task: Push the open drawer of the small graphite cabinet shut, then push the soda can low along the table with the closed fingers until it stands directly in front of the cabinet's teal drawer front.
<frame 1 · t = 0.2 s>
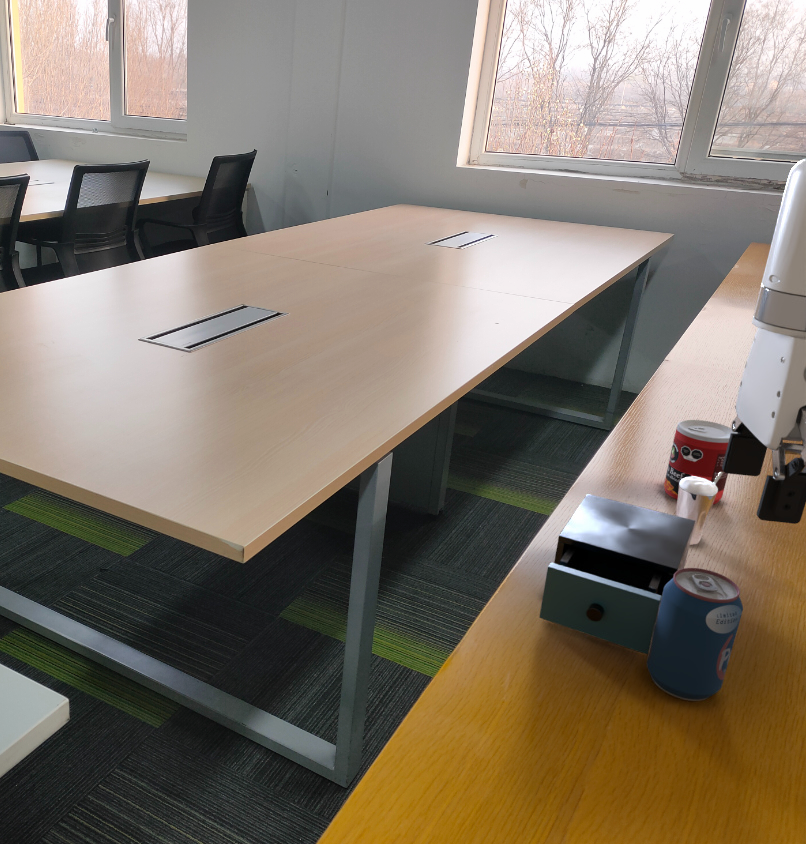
hand: (757, 495, 73), 22 cm above the table, tool pointing down, fingers open, 9 cm apart
canned food: (691, 496, 123), on the table
drawer: (608, 586, 92), point 4 cm above the table, slide at 5.0 cm
soda can: (680, 684, 83), on the table
milkshake: (688, 540, 111), on the table
cabinet: (615, 589, 99), on the table
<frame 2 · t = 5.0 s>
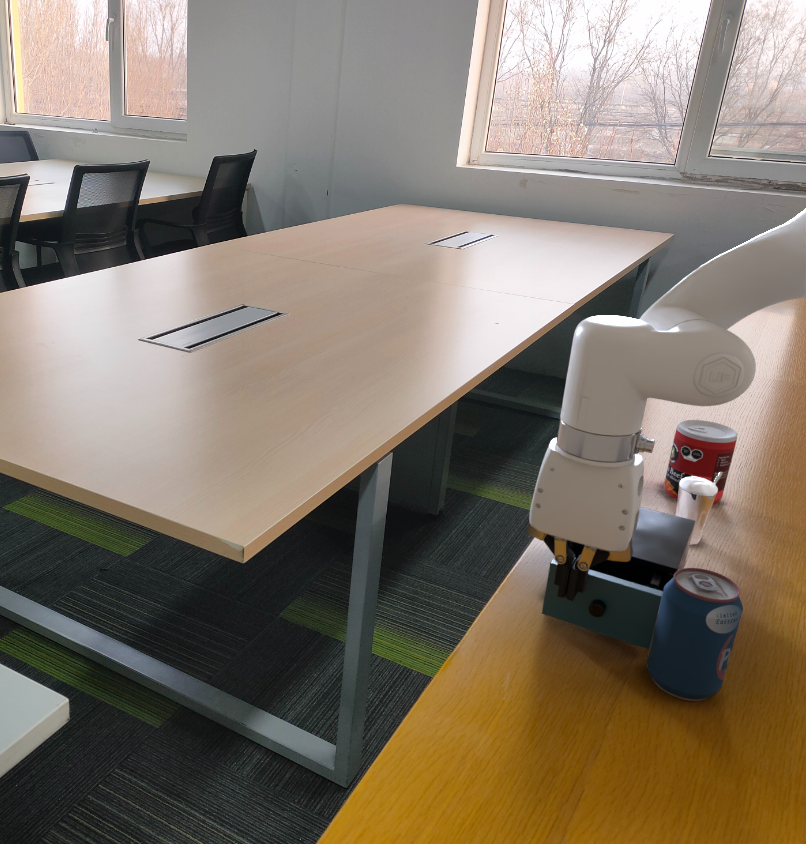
hand: (568, 593, 88), 6 cm above the table, tool pointing down, fingers closed
drawer: (610, 582, 92), point 4 cm above the table, slide at 4.0 cm, touching gripper
everything else where it was.
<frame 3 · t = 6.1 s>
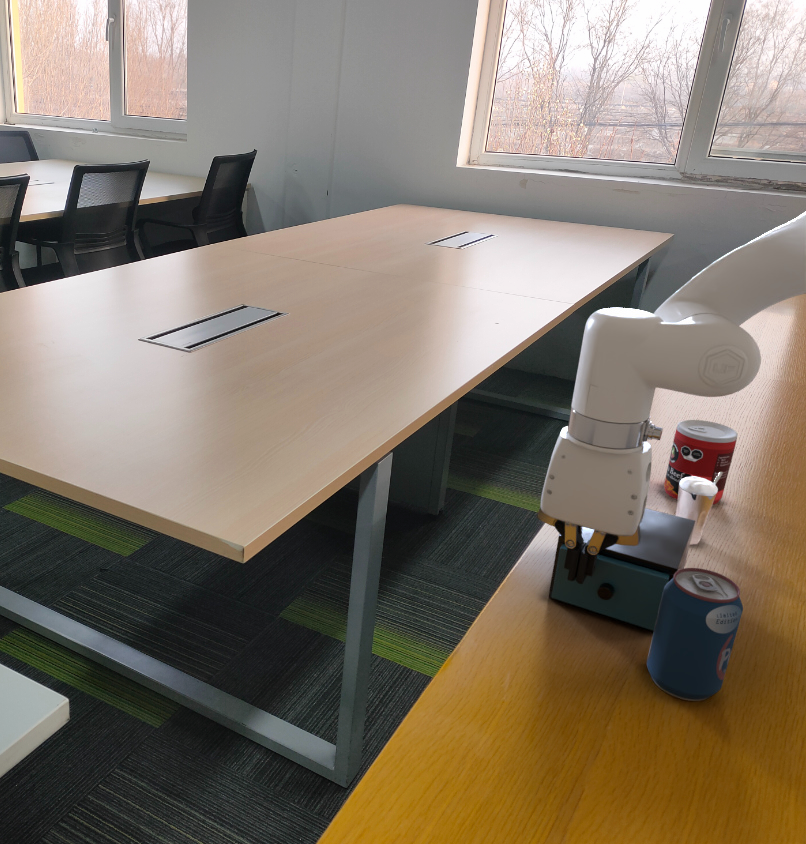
hand: (577, 576, 91), 6 cm above the table, tool pointing down, fingers closed
drawer: (617, 567, 95), point 4 cm above the table, slide at 0.0 cm, touching cabinet, gripper
everything else where it was.
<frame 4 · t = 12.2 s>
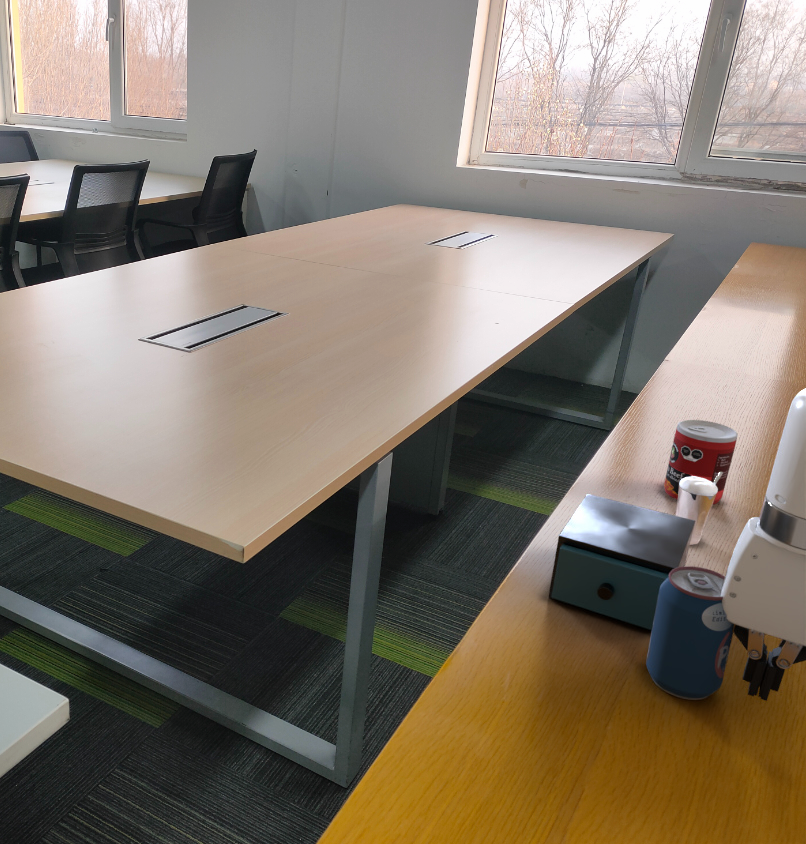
hand: (758, 689, 78), 2 cm above the table, tool pointing down, fingers closed
drawer: (617, 567, 95), point 4 cm above the table, slide at 0.0 cm, touching cabinet
soda can: (680, 683, 83), on the table, touching gripper
everything else where it was.
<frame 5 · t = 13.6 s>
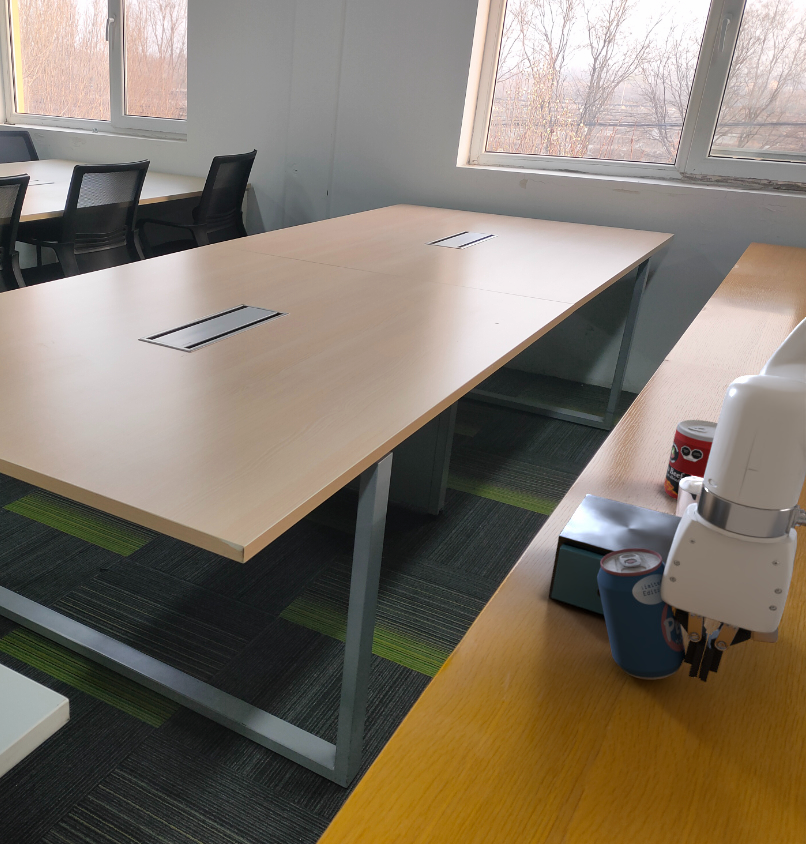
hand: (698, 671, 80), 3 cm above the table, tool pointing down, fingers closed
soda can: (650, 666, 84), point 1 cm above the table, touching gripper
everything else where it was.
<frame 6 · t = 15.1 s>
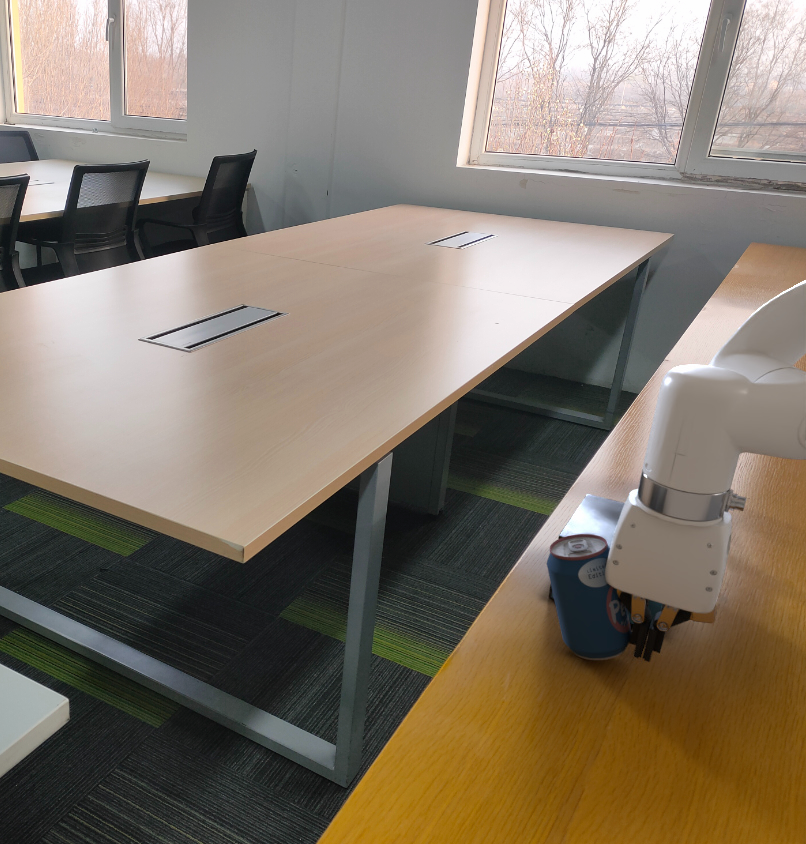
hand: (643, 652, 83), 2 cm above the table, tool pointing down, fingers closed
soda can: (599, 647, 87), point 1 cm above the table, touching gripper
everything else where it was.
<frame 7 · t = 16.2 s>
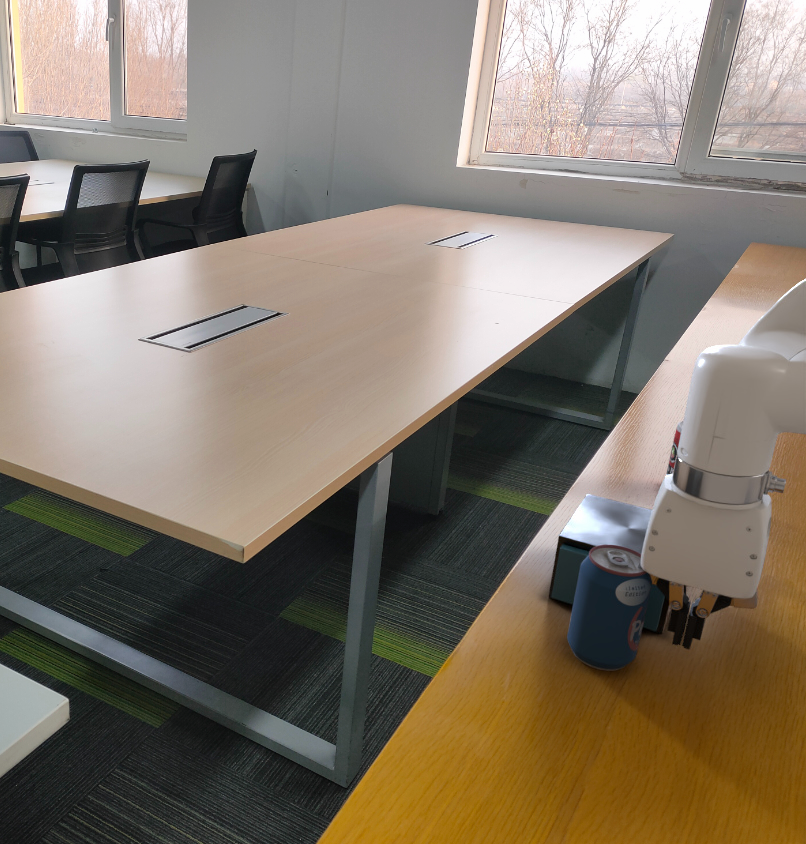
hand: (682, 639, 82), 5 cm above the table, tool pointing down, fingers closed
soda can: (598, 655, 87), on the table
everything else where it was.
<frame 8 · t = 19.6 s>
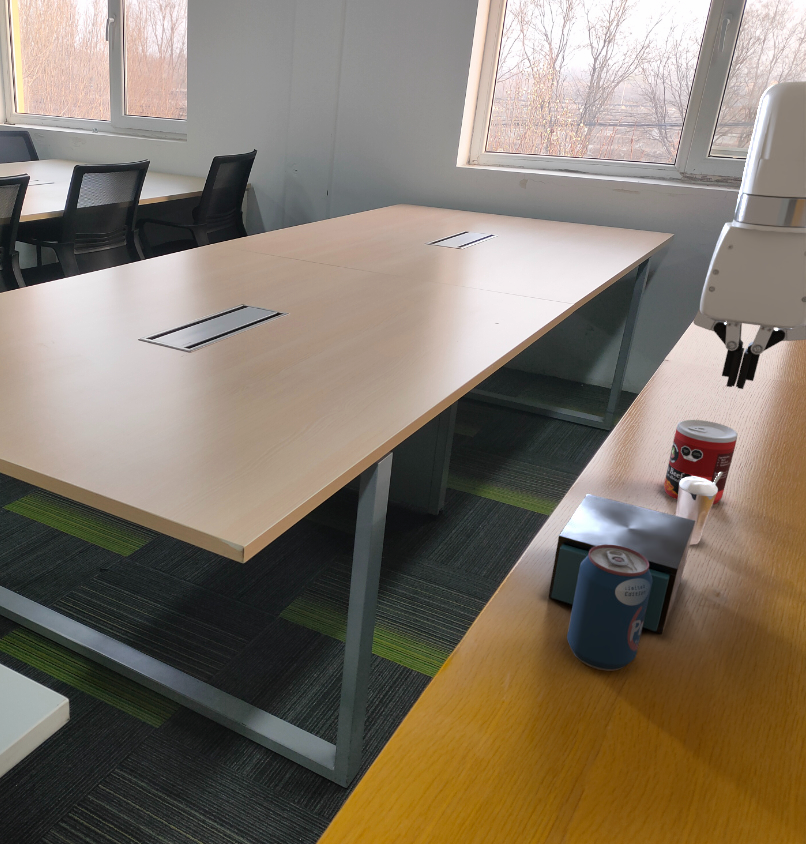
hand: (735, 384, 88), 27 cm above the table, tool pointing down, fingers closed
nothing on the table moved.
at the end: drawer slide at 0.0 cm; soda can inside the target area in the drawer (1.8 cm from its centre), point 0.0 cm above the cabinet's base; soda can tilted 0° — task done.
